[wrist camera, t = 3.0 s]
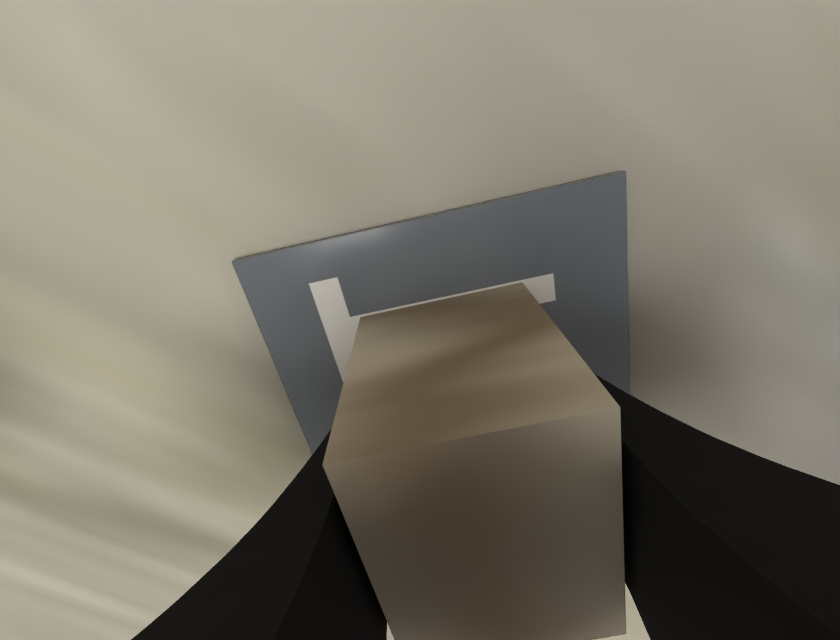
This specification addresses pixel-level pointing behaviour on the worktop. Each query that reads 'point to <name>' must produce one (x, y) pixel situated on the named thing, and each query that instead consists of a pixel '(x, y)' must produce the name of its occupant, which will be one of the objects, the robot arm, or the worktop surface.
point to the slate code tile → (446, 282)
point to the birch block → (481, 473)
